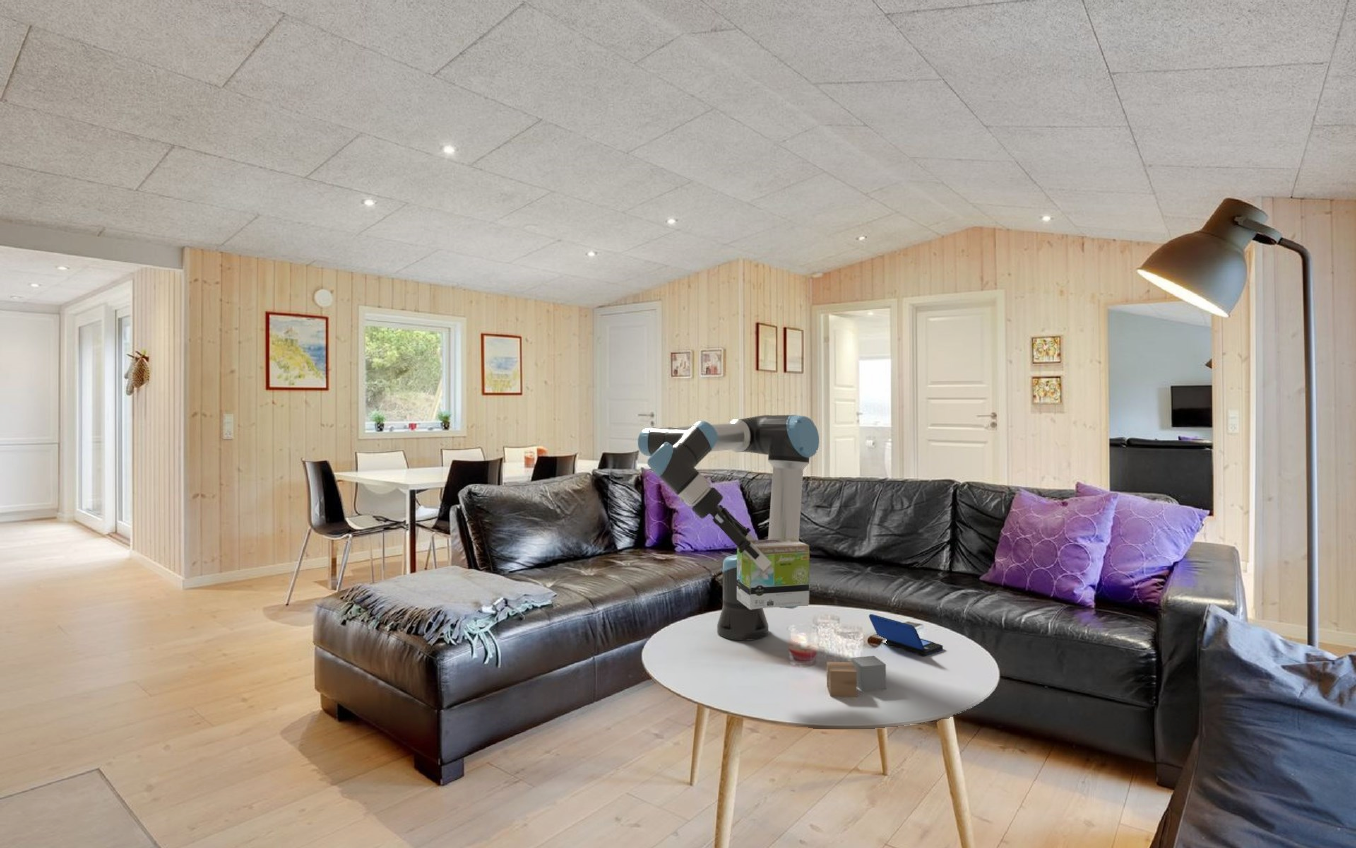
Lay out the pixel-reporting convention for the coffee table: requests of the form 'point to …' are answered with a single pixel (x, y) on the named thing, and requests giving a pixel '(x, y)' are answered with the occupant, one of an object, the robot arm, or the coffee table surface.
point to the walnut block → (841, 679)
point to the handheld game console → (903, 636)
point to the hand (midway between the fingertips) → (766, 561)
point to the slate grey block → (870, 673)
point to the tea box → (774, 575)
